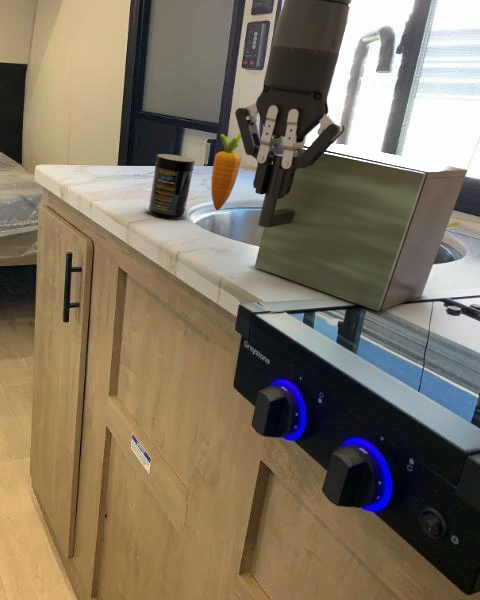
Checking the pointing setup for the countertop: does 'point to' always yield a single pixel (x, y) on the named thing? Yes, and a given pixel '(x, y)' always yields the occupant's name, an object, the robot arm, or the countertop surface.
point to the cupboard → (416, 220)
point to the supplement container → (170, 186)
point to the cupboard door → (339, 226)
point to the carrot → (225, 171)
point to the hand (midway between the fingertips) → (269, 195)
